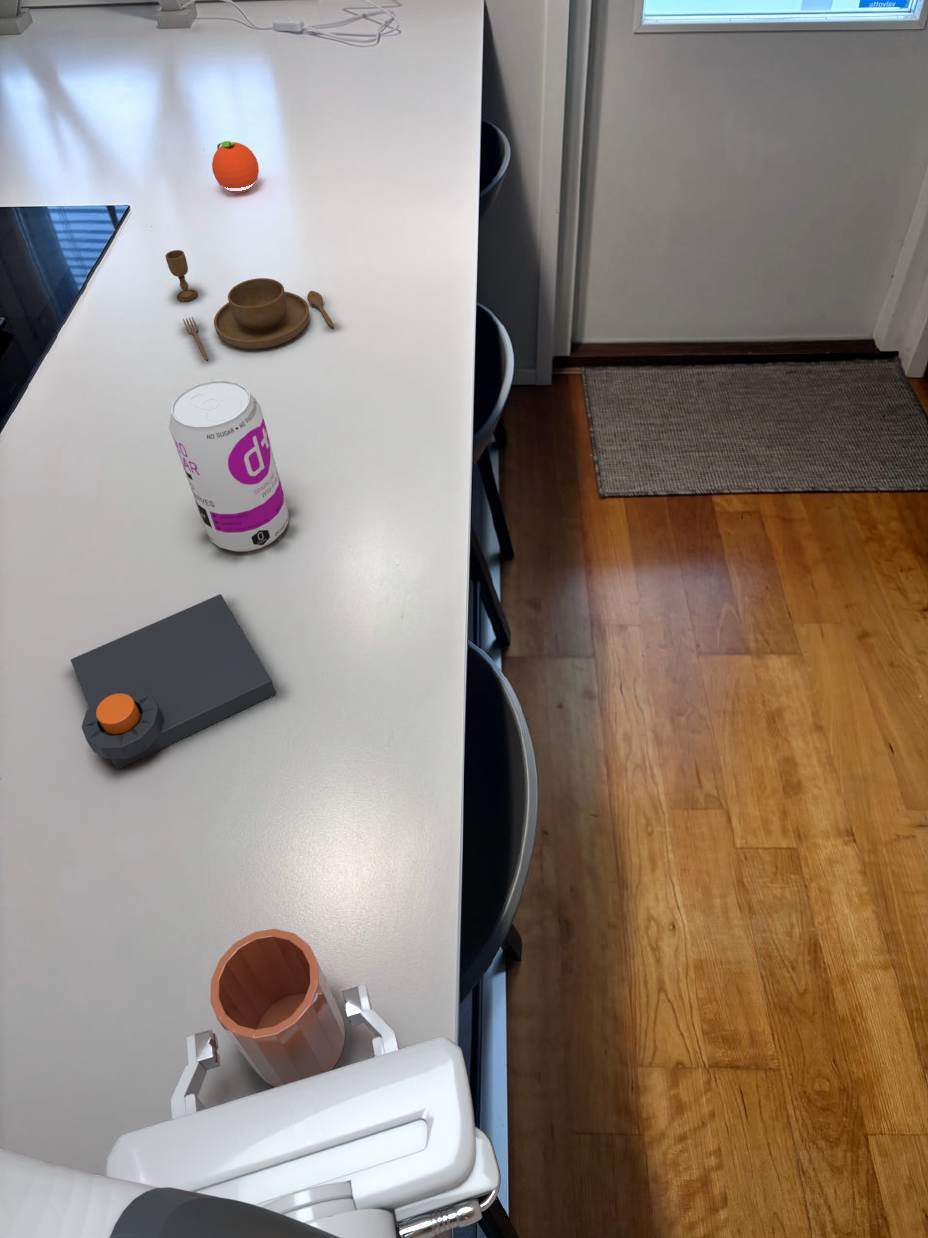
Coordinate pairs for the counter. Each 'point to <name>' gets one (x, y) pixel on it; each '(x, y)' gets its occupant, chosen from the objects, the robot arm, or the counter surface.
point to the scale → (172, 679)
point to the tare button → (118, 714)
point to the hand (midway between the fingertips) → (279, 1012)
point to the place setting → (251, 310)
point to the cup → (278, 1007)
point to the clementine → (234, 165)
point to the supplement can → (229, 464)
